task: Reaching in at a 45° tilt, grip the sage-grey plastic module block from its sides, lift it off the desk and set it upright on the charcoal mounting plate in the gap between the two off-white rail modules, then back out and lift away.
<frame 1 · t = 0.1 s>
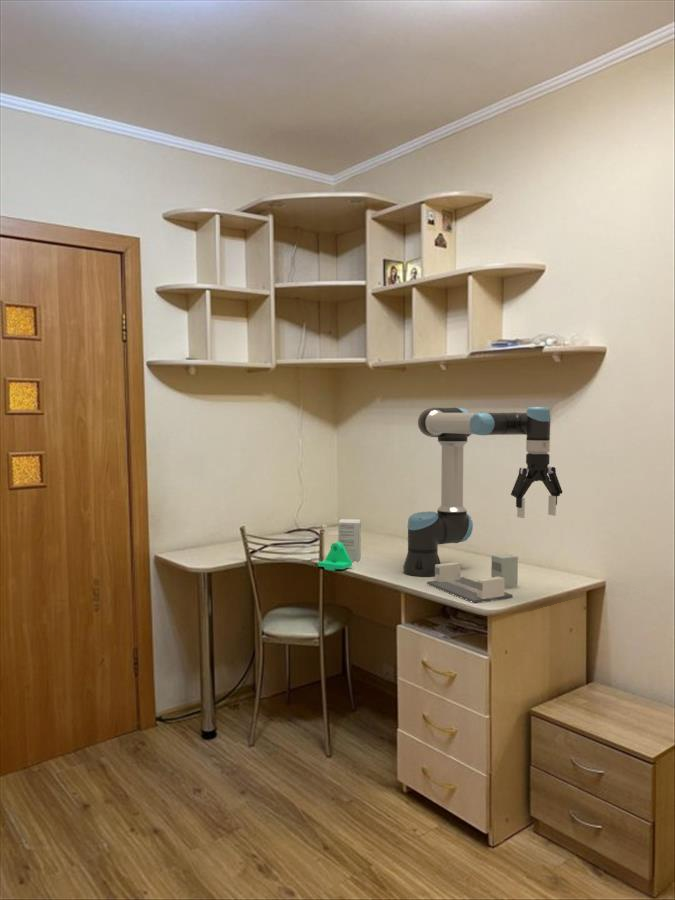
hand: (536, 516, 230), 28 cm above the table, tool pointing down, fingers open, 13 cm apart
rail plate: (468, 590, 241), on the table
module block: (504, 586, 248), on the table
supplement box: (349, 560, 294), on the table
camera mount: (334, 569, 278), on the table
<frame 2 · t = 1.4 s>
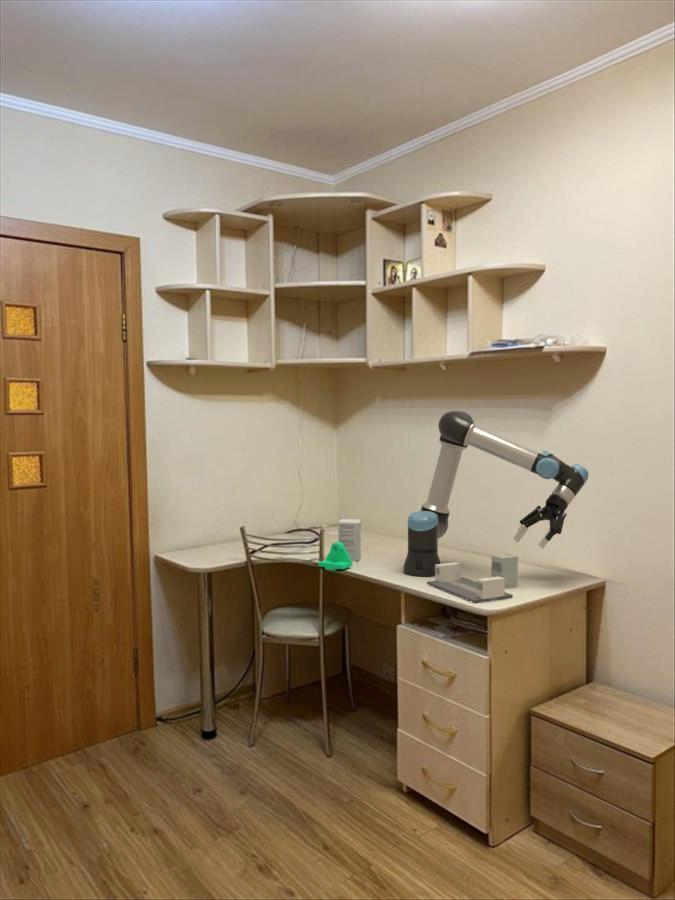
hand: (527, 543, 252), 15 cm above the table, tool tilted 45°, fingers open, 13 cm apart
nothing on the table moved.
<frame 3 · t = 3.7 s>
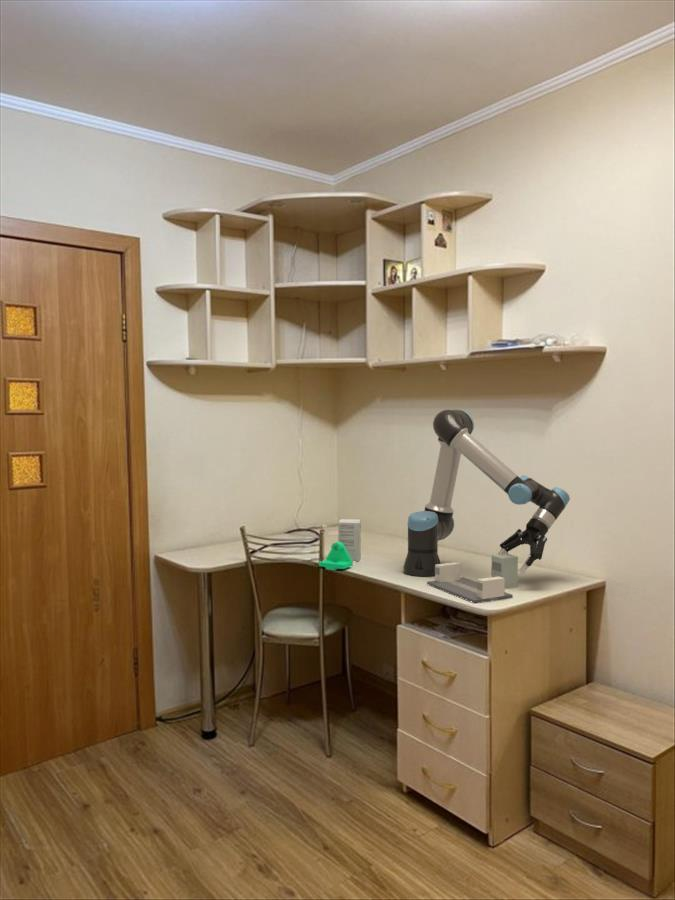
hand: (507, 568, 248), 7 cm above the table, tool tilted 45°, fingers open, 13 cm apart
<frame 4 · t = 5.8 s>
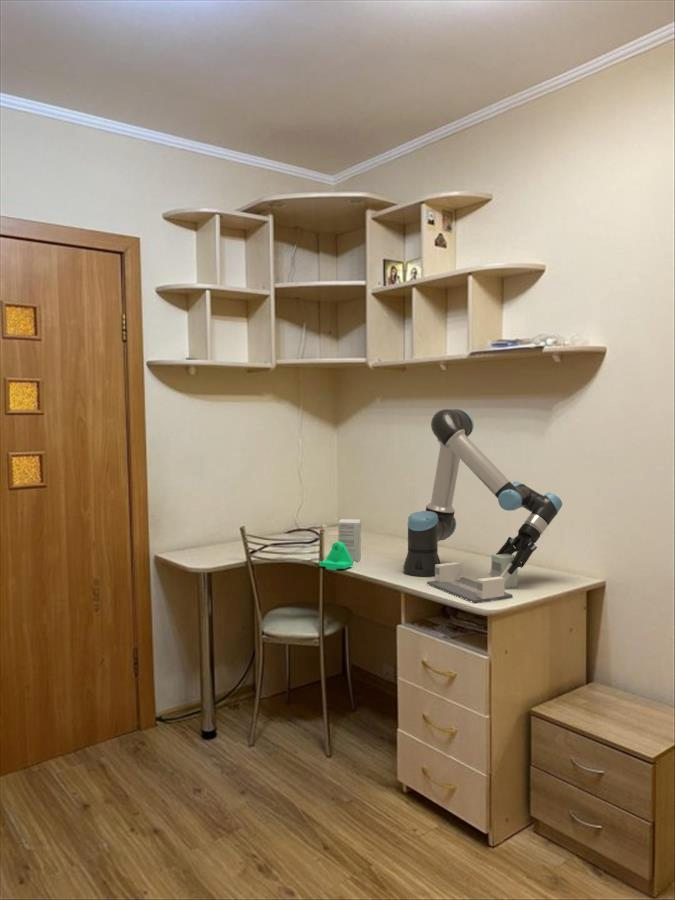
hand: (496, 577, 247), 3 cm above the table, tool tilted 45°, fingers closed on module block, 6 cm apart
module block: (504, 585, 248), on the table, touching gripper
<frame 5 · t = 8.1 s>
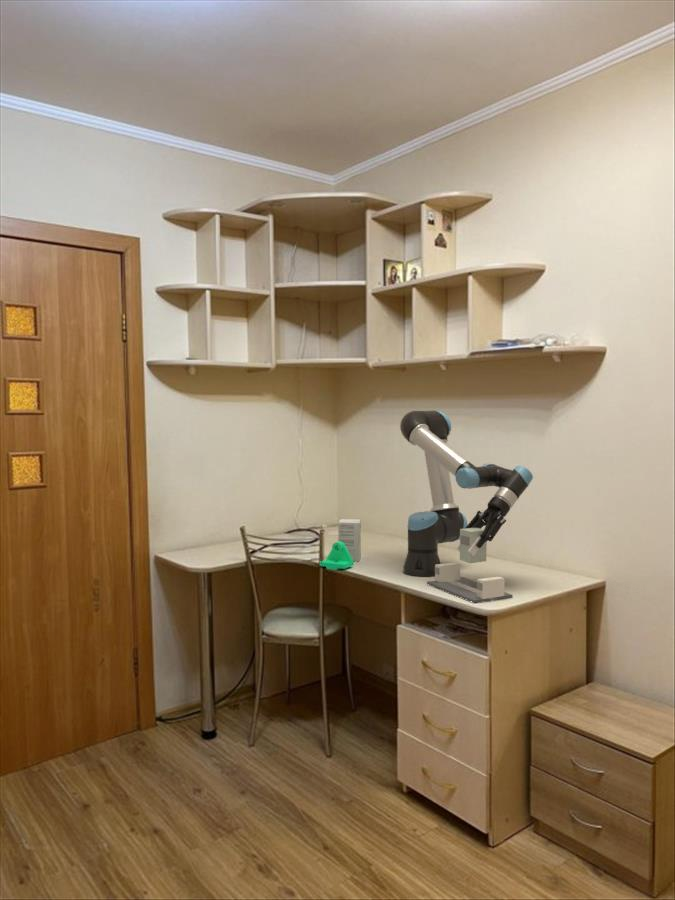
hand: (464, 551, 239), 14 cm above the table, tool tilted 45°, fingers closed on module block, 6 cm apart
module block: (472, 560, 241), point 11 cm above the table, touching gripper
when the fingers open (5 cm above the table, at t = 10.7 s): module block stays where it is, resting on rail plate.
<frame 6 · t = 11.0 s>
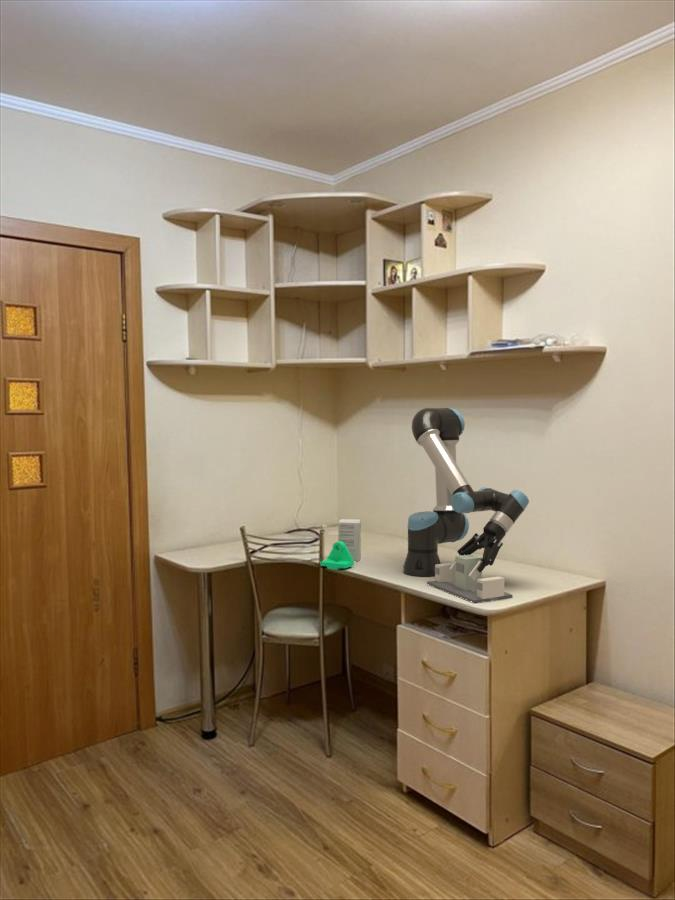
hand: (461, 574, 240), 6 cm above the table, tool tilted 45°, fingers open, 10 cm apart
module block: (468, 587, 241), point 1 cm above the table, touching rail plate
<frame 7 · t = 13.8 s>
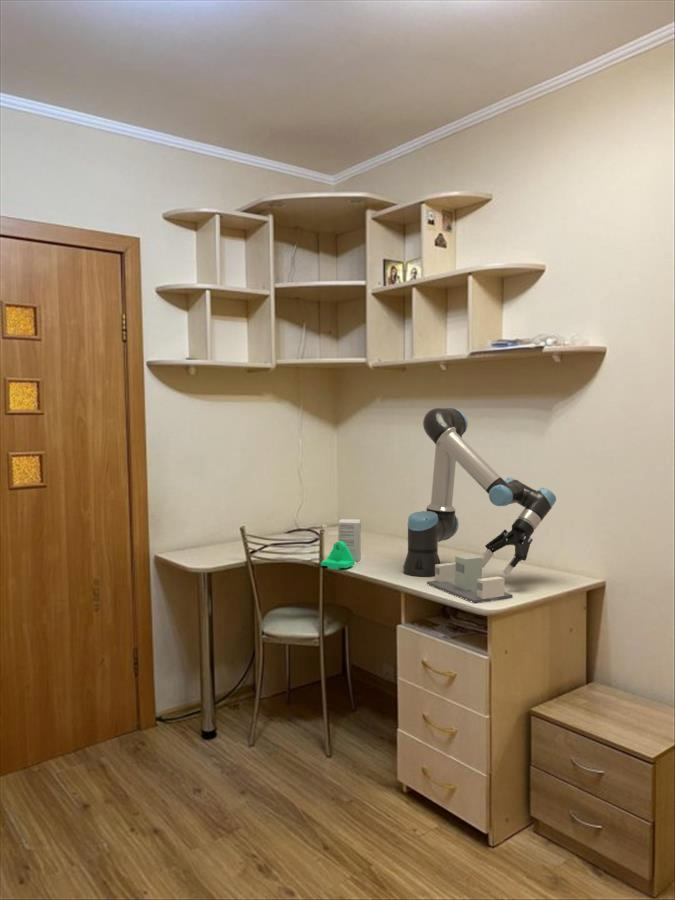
hand: (492, 569, 246), 7 cm above the table, tool tilted 45°, fingers open, 13 cm apart
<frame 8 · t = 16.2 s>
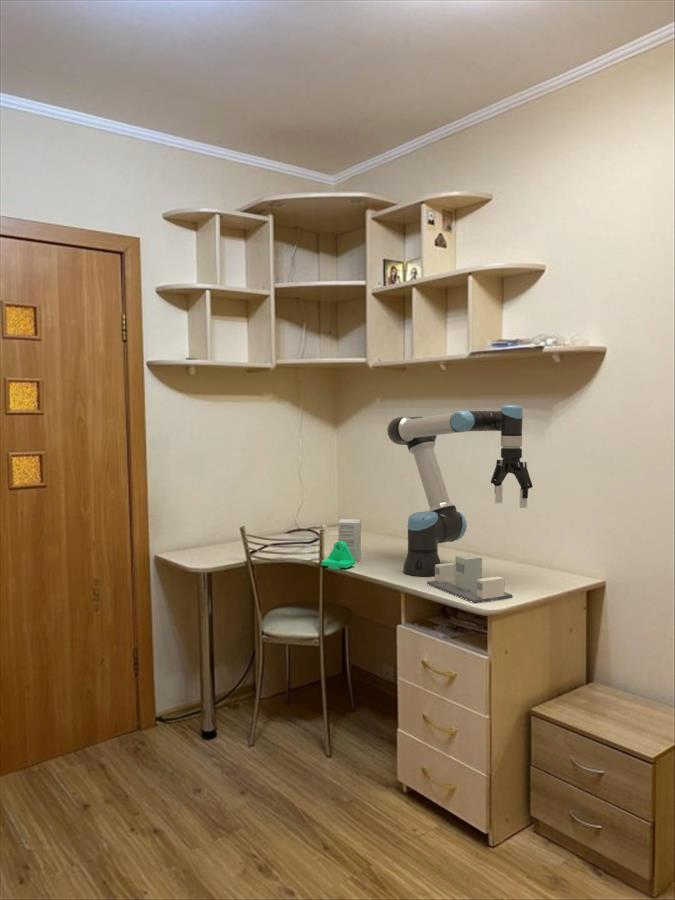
hand: (510, 505, 252), 29 cm above the table, tool pointing down, fingers open, 13 cm apart
at the end: module block inside the target area on the rail plate (0.5 cm from its centre), point 1.0 cm above the rail plate's base; module block tilted 0°; the gripper is holding nothing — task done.
